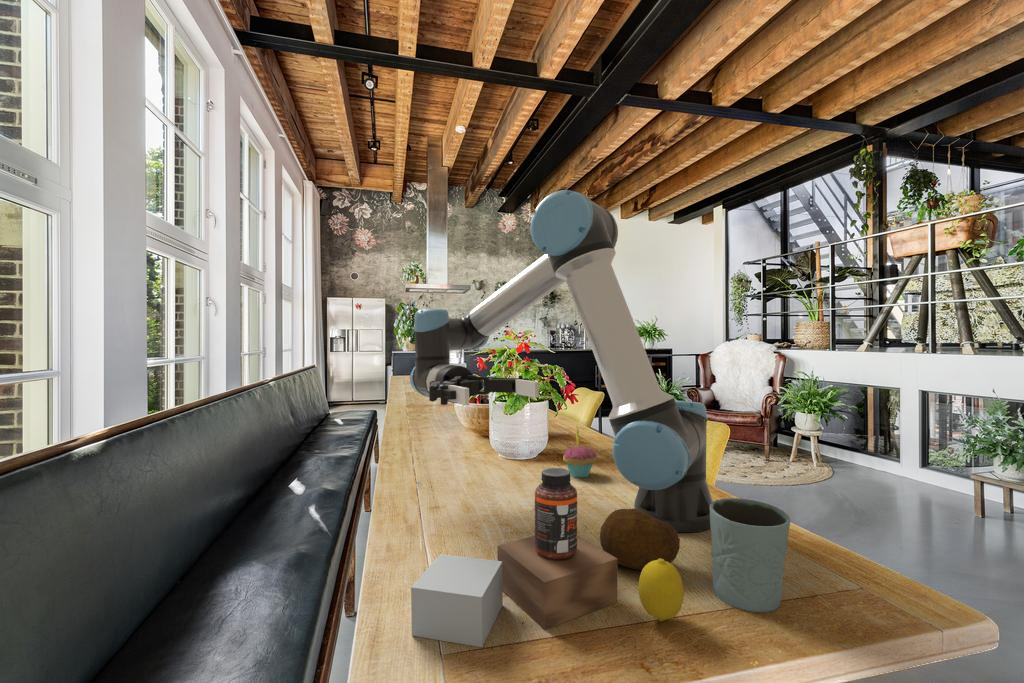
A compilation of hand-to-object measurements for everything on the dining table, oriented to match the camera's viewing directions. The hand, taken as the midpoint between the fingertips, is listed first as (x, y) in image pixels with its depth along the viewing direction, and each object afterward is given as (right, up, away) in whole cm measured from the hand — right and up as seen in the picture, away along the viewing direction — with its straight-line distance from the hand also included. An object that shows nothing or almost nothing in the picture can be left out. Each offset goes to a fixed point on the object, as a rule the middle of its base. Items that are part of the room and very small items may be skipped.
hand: (503, 393), depth 83 cm
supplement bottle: (+8, -21, -14) cm, 26 cm away
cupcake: (+19, -25, +41) cm, 52 cm away
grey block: (-5, -27, -20) cm, 34 cm away
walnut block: (+8, -27, -14) cm, 31 cm away
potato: (+21, -27, -6) cm, 34 cm away
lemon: (+20, -27, -20) cm, 39 cm away
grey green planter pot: (+34, -27, -14) cm, 46 cm away
